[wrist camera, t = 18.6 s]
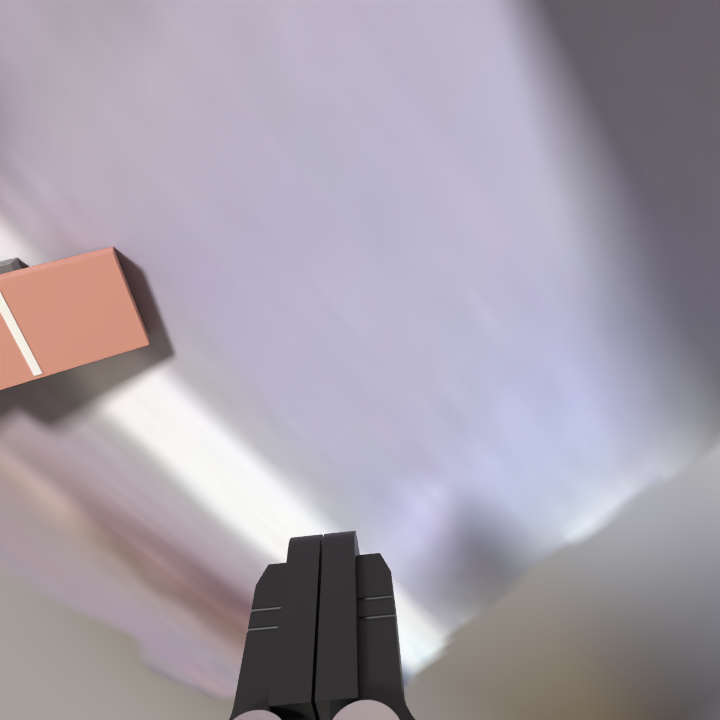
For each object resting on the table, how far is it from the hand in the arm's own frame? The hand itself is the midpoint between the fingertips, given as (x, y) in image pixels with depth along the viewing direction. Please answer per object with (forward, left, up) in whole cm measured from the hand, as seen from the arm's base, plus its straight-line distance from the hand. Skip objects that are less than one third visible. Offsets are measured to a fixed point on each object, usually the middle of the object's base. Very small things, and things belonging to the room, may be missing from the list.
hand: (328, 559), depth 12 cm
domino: (-2, -11, -18) cm, 21 cm away
